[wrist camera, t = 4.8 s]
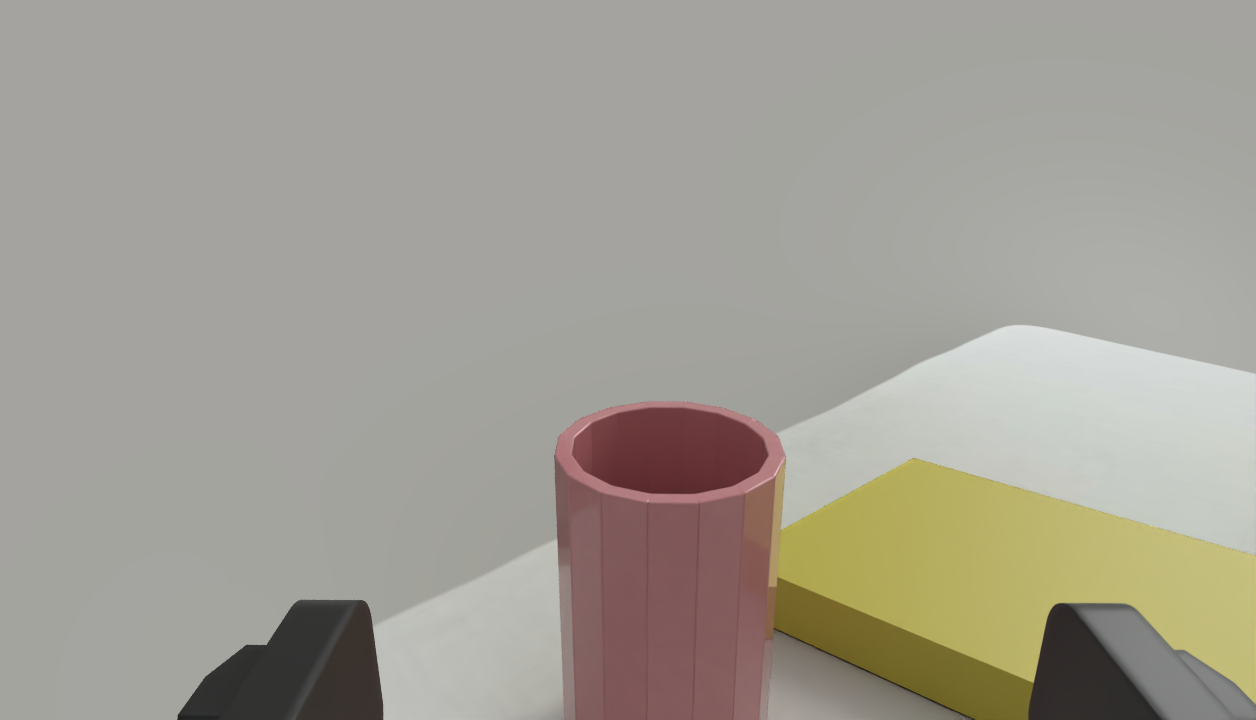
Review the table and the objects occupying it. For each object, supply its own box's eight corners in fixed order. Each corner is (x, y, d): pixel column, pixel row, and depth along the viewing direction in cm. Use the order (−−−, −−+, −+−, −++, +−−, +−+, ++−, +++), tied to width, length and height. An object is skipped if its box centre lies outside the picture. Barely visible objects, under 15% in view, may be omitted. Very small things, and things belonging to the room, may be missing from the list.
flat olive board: (1582, 713, 25) (859, 484, 39) (1611, 657, 25) (863, 443, 39) (1730, 1063, 17) (728, 606, 31) (1783, 992, 16) (730, 557, 30)
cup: (557, 828, 22) (543, 501, 18) (574, 673, 27) (566, 400, 24) (776, 830, 22) (804, 503, 18) (749, 674, 27) (766, 401, 24)
